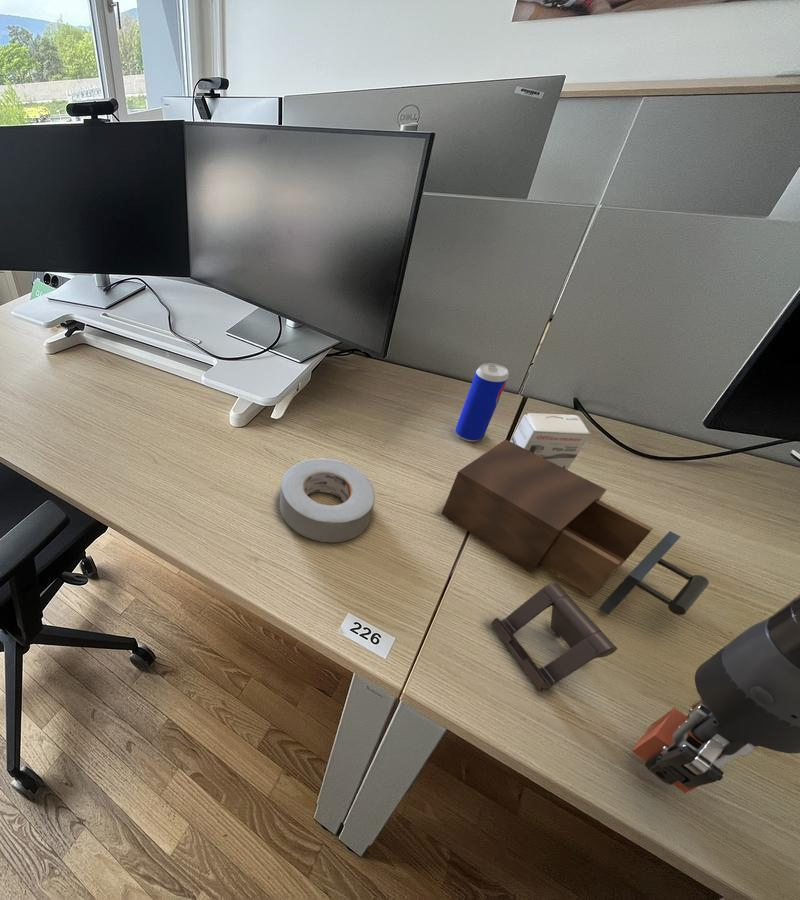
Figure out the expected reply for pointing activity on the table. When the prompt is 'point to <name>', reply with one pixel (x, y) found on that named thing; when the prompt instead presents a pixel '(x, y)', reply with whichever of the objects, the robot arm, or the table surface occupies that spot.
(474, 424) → the beverage can
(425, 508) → the table surface
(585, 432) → the ink box
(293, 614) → the table surface
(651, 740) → the block
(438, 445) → the table surface
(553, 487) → the cabinet
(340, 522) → the tape roll
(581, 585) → the drawer
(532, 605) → the tablet stand
